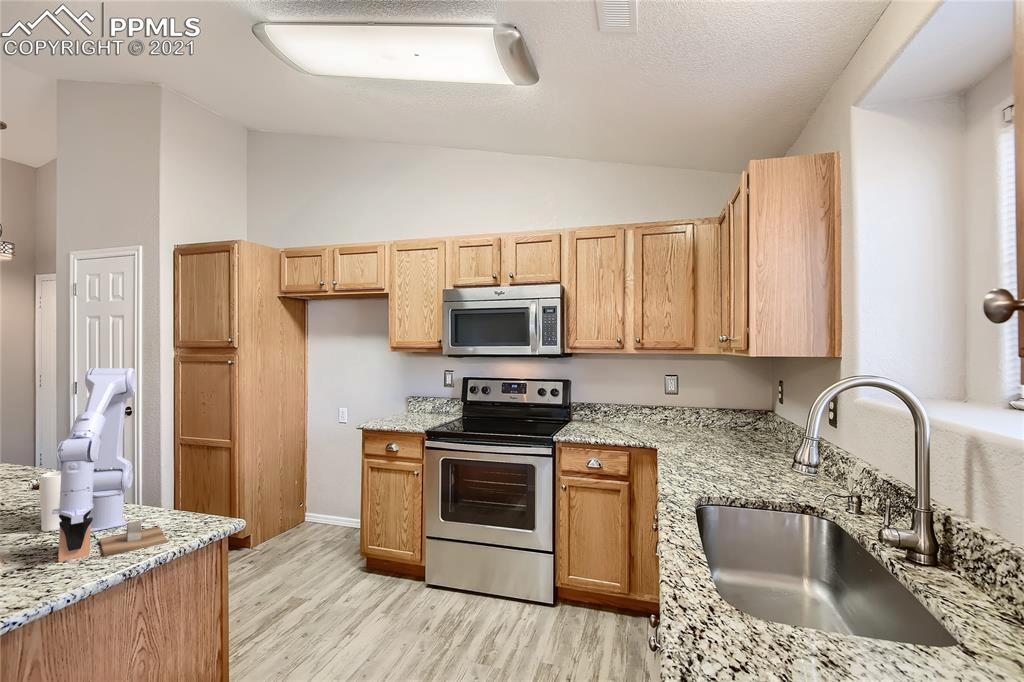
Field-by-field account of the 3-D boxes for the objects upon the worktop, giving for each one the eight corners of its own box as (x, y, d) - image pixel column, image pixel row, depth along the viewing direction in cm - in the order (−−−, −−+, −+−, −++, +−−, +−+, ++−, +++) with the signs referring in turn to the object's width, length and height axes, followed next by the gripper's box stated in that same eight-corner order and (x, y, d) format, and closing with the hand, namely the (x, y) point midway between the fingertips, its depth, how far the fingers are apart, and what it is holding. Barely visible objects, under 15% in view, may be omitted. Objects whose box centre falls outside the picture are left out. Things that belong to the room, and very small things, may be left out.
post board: (100, 541, 116) (100, 522, 116) (158, 529, 124) (159, 511, 125) (104, 556, 107) (104, 536, 108) (166, 542, 116) (167, 523, 116)
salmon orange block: (58, 554, 108) (59, 526, 108) (88, 548, 112) (89, 521, 112) (58, 562, 104) (60, 533, 105) (89, 555, 108) (90, 527, 108)
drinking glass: (30, 534, 119) (33, 477, 120) (48, 525, 126) (51, 470, 126) (61, 532, 121) (64, 476, 121) (78, 523, 128) (80, 469, 128)
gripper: (53, 485, 111) (50, 541, 110) (53, 499, 101) (50, 561, 100) (92, 479, 116) (89, 533, 115) (96, 492, 106) (93, 551, 105)
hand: (74, 545), depth 108 cm, fingers closed on salmon orange block, 5 cm apart
